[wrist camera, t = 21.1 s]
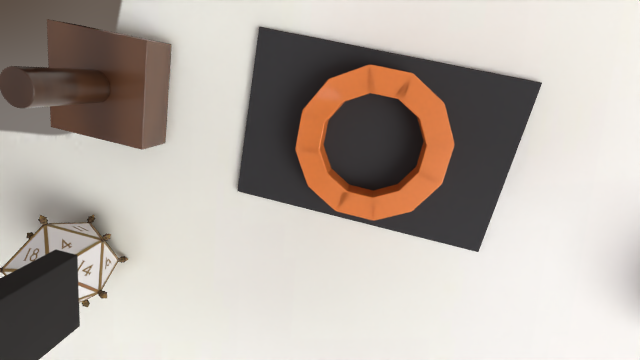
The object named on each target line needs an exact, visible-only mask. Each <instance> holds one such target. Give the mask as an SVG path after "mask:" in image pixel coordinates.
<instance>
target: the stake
mask: <svg viewBox="0 0 640 360" xmlns="http://www.w3.org/2000/svg"><path fill="white" fill-rule="evenodd" d="M47 34H48V58H49V59H48V60H49V68H44V67H43V68H42V67H19V66H18V67H17V66H11V67H7V68H5V69H4V70H3V71H2V72H1V74H0V90H1V93H2V95H3V97H4V98H5V99H6V100H7V102H8V103H10V104H11V105H12V106H14V107H17V108H36V107H48V106H50V115H51V127H53V128H58V129H62V130H66V131H70V132H74V133H78V134H82V135H86V136H90V137H94V138H98V139H102V140H106V141H110V142H114V143H118V144H122V145H126V146H130V147H134V148H138V149H146V148H149V147H153V146H156V145H160V144H163V143H165V137H166V122H167V106H168V90H169V74H170V59H171V44H167V43H162V42H157V41H152V40H148V39H143V38H138V37H133V36H128V35H124V34H119V33H114V32H109V31H105V30H99V29H95V28H90V27H86V26H81V25H76V24H70V23H65V22H59V21H54V20H49V19H48V20H47Z"/></svg>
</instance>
